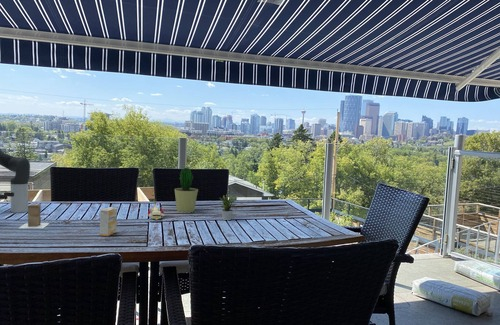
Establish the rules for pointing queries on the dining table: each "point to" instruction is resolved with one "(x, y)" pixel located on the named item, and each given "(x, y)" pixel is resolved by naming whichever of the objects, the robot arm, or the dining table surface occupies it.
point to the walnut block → (34, 215)
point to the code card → (34, 227)
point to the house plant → (227, 207)
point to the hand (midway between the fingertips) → (10, 195)
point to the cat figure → (155, 212)
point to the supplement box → (108, 221)
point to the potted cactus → (185, 193)
